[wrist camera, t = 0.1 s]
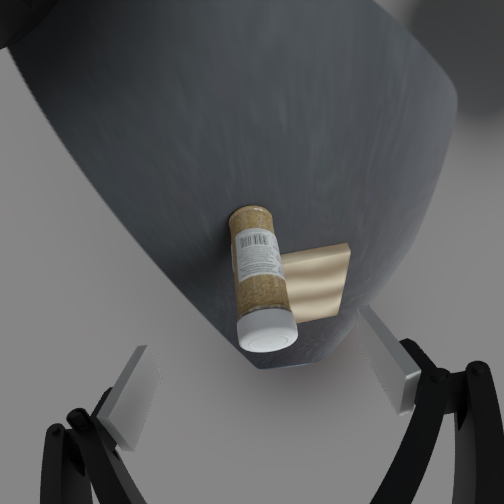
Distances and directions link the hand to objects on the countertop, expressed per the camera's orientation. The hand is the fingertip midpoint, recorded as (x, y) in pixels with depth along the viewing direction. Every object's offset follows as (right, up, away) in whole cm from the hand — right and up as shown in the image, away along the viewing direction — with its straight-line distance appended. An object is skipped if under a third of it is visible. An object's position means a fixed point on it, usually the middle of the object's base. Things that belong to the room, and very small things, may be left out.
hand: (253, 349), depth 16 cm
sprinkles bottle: (0, +9, +13) cm, 16 cm away
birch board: (+7, +1, +24) cm, 25 cm away
